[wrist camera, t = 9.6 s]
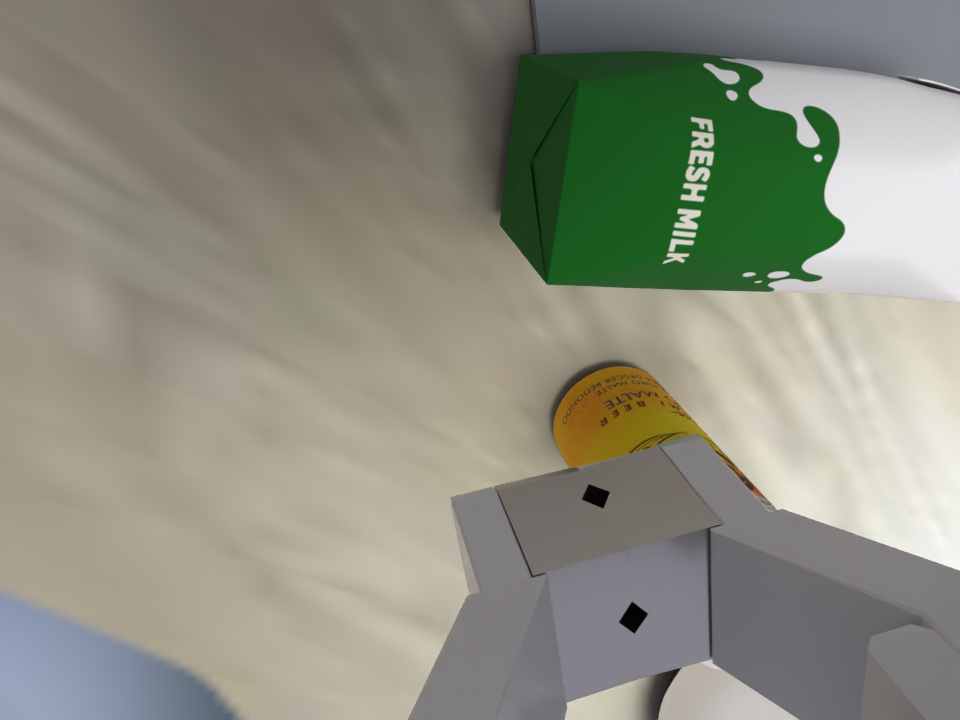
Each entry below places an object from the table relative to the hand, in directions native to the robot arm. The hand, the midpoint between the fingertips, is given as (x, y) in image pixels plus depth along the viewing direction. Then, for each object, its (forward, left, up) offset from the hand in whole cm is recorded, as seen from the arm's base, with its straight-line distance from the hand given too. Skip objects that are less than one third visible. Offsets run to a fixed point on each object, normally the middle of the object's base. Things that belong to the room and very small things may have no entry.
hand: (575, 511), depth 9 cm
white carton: (+1, +5, -22) cm, 22 cm away
